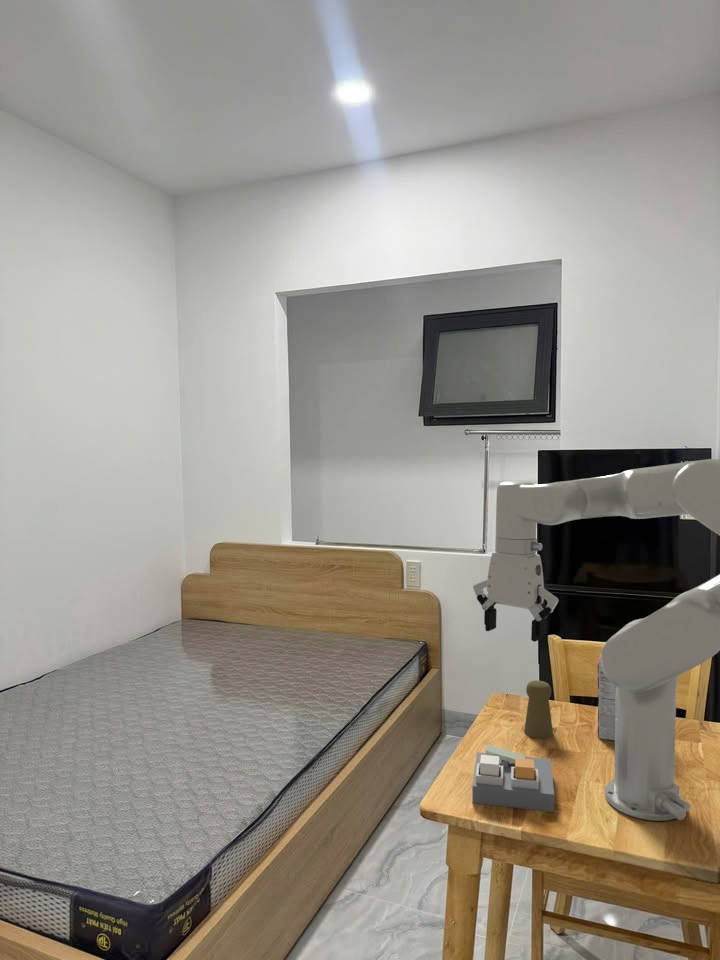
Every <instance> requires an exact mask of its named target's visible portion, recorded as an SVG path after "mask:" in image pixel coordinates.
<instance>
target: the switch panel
mask: <svg viewBox="0 0 720 960" xmlns="http://www.w3.org/2000/svg"><path fill="white" fill-rule="evenodd" d="M481 755H486V752H476V756H475V764H474V772H473V779H472V787H471V788H472V795H471V796H472V804H480V805H488V806H497V807H504V808H505V807H506V808H516V809H524V810H534V811H543V812H550V813H551V812H553V813H555V788H554V777H553V770H552V769H553V768H552V761H551V758H542V757H541V758H540V757H532V756H525V759H533V760H534V779H524V778H515V764H514V763H511V762H508V761H504V760H501V759H499V776H494V775H484V774H480V759H481Z"/></svg>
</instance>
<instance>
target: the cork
mask: <svg viewBox="0 0 720 960" xmlns="http://www.w3.org/2000/svg"><path fill="white" fill-rule="evenodd" d="M525 691H526V694H527V696H528V702H527V709H526V717H525V722H524V730H523V732H524V735H526V736H527V737H530V738H531V739H538V740H547V739H550V738H552V737H553V736H554V730H553V722H552V715H551V706H550V700H549V699H550V697H551V696H552V688H551V685H550V684H549V683H548V682H546V681H543V680H531V681H529V682H528V683H527V685H526V688H525Z"/></svg>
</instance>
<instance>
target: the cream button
mask: <svg viewBox="0 0 720 960" xmlns="http://www.w3.org/2000/svg"><path fill="white" fill-rule="evenodd" d="M480 774H484V775H494V776H499V756H490V755H481V759H480Z"/></svg>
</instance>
